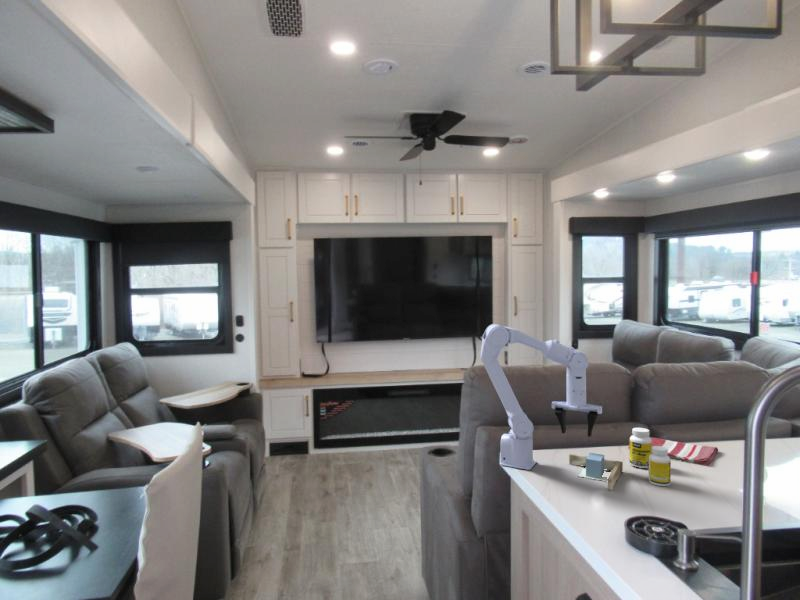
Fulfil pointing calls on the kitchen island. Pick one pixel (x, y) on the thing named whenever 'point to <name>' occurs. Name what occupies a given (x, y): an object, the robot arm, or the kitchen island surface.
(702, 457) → the dish towel
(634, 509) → the kitchen island surface
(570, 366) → the robot arm
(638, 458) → the pill bottle
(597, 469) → the slate block
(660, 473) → the supplement bottle
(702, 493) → the kitchen island surface
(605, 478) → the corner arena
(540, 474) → the kitchen island surface
